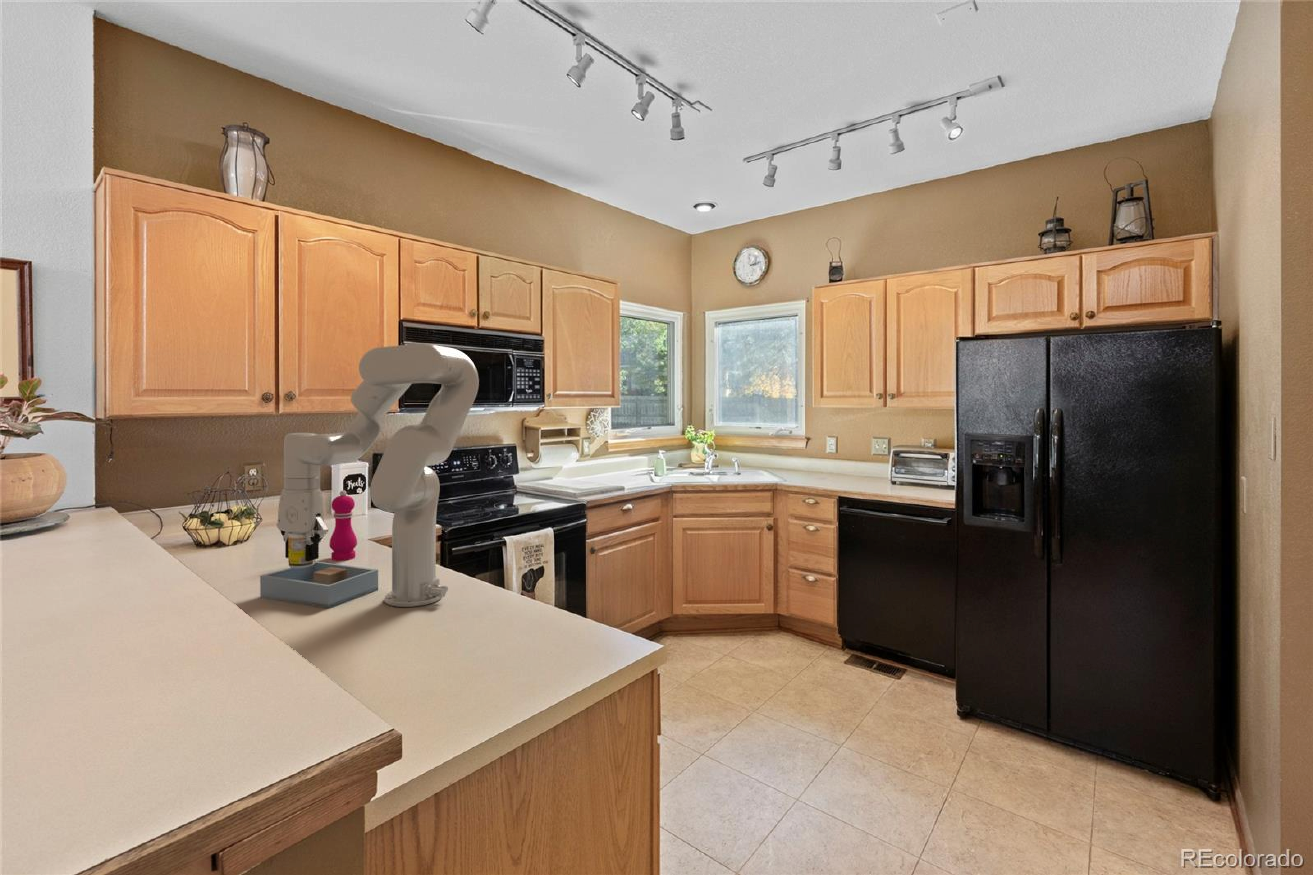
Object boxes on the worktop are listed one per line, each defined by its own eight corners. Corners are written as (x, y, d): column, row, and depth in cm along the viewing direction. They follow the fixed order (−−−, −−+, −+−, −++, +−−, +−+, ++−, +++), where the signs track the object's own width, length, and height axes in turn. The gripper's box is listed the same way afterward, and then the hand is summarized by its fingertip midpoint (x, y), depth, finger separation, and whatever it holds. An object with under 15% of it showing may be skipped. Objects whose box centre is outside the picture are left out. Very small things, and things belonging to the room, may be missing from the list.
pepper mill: (336, 562, 171) (336, 493, 170) (324, 558, 175) (324, 490, 174) (361, 557, 177) (361, 490, 176) (349, 553, 181) (349, 487, 180)
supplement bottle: (297, 562, 148) (297, 521, 147) (319, 563, 148) (319, 522, 147) (283, 568, 142) (282, 526, 142) (306, 569, 142) (306, 527, 142)
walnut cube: (329, 595, 140) (329, 574, 139) (313, 593, 141) (313, 572, 141) (347, 589, 144) (347, 569, 144) (331, 587, 146) (331, 567, 146)
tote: (378, 589, 148) (378, 569, 147) (328, 608, 134) (328, 586, 133) (313, 580, 154) (313, 561, 154) (260, 597, 140) (260, 576, 140)
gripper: (261, 483, 143) (261, 558, 144) (316, 489, 138) (316, 566, 139) (289, 479, 150) (289, 551, 151) (342, 485, 145) (342, 558, 146)
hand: (302, 557), depth 145 cm, fingers closed on supplement bottle, 5 cm apart
